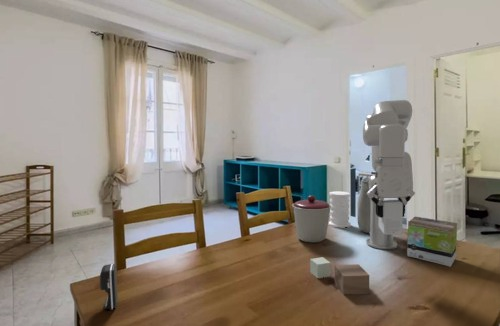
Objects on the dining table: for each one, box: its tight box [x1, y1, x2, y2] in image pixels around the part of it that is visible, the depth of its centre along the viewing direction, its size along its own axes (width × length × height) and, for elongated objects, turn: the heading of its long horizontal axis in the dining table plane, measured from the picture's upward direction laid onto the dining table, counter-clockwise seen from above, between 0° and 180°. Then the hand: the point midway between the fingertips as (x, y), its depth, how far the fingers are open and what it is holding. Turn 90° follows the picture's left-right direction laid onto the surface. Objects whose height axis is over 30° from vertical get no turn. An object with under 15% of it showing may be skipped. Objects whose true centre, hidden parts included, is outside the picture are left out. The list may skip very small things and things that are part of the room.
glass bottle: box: [357, 177, 370, 234], centre depth 148 cm, size 10×10×28 cm
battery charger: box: [99, 263, 118, 310], centre depth 85 cm, size 7×4×11 cm, turn 20°
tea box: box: [406, 216, 458, 268], centre depth 115 cm, size 15×10×15 cm
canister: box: [291, 195, 331, 244], centre depth 139 cm, size 18×18×21 cm
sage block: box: [309, 257, 331, 279], centre depth 103 cm, size 5×5×5 cm
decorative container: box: [328, 190, 352, 229], centre depth 162 cm, size 12×12×18 cm
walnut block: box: [334, 263, 370, 295], centre depth 93 cm, size 8×8×6 cm
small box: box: [379, 198, 404, 236], centre depth 97 cm, size 8×6×10 cm
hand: (390, 215), depth 97 cm, fingers closed on small box, 6 cm apart
